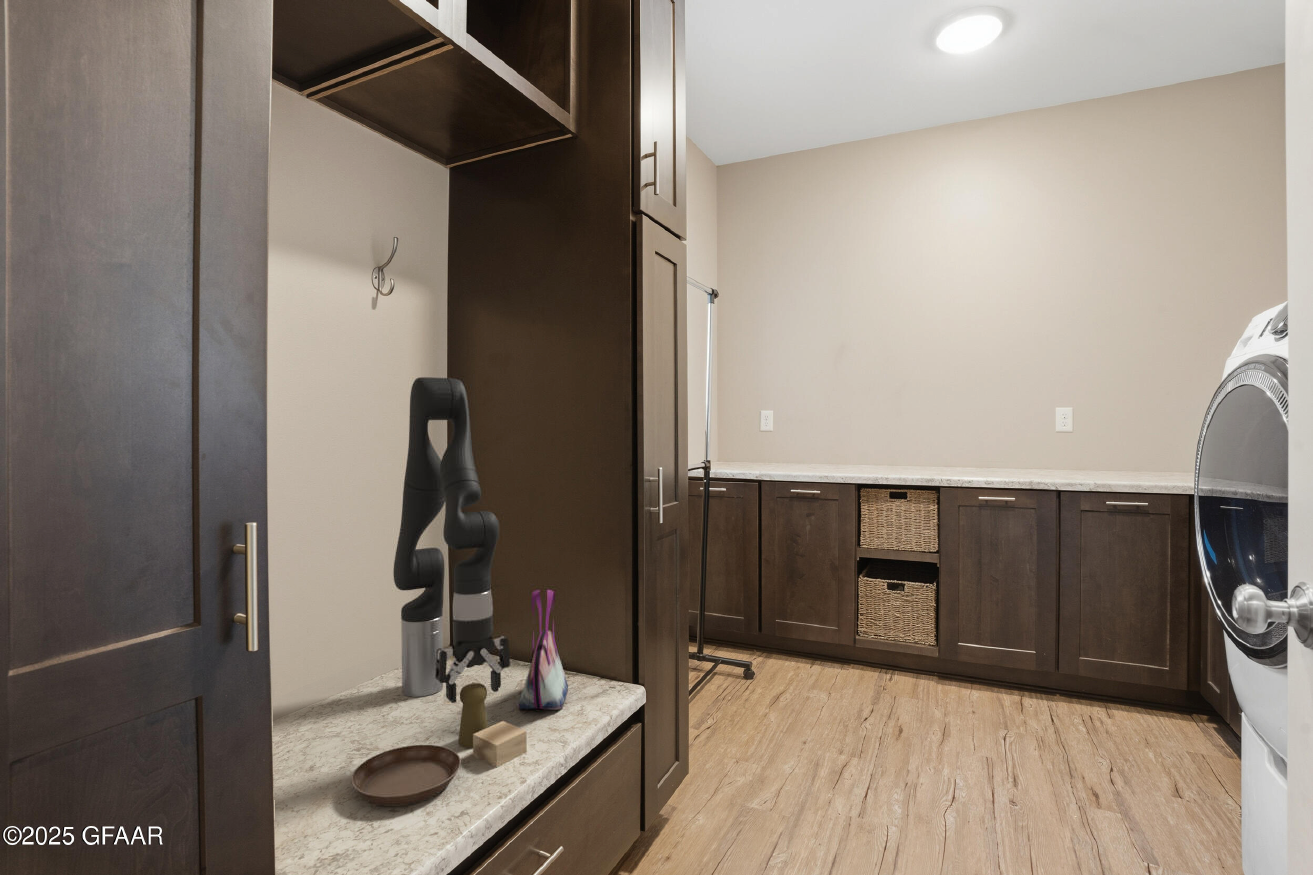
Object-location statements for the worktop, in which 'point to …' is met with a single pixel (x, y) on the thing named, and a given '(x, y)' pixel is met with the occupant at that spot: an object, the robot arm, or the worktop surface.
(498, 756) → the oak base block
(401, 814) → the worktop surface
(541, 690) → the handbag
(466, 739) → the olive green pawn
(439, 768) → the plant saucer
